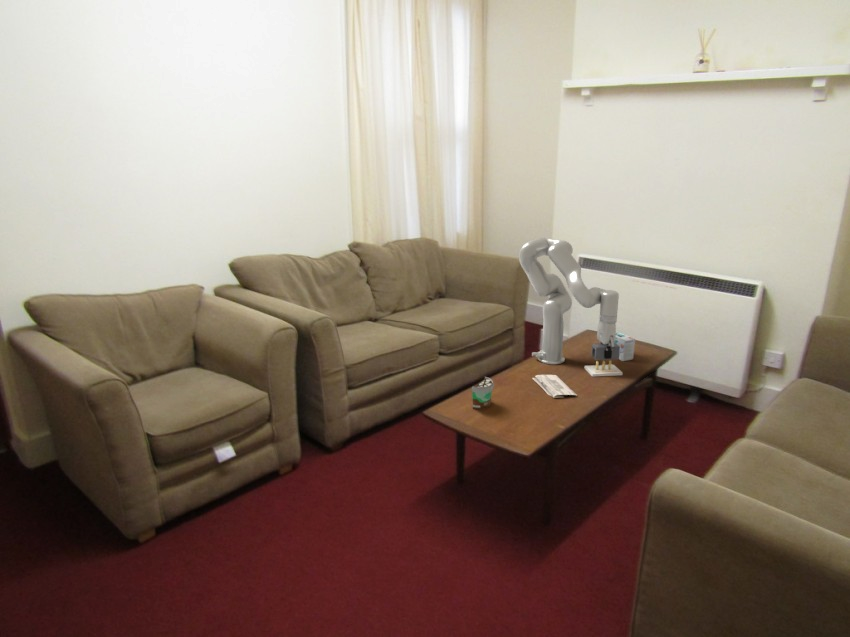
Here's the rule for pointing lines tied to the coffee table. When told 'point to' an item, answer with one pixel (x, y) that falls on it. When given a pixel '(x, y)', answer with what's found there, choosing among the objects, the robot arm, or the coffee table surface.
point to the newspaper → (553, 386)
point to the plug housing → (600, 349)
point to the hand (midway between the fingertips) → (605, 355)
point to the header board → (603, 369)
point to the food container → (482, 394)
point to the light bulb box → (625, 346)
